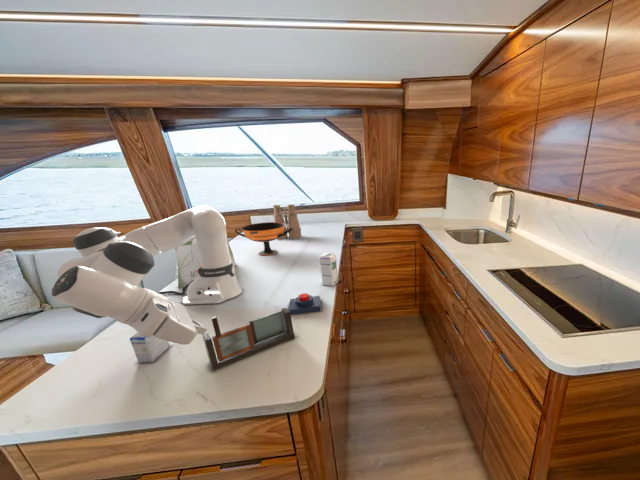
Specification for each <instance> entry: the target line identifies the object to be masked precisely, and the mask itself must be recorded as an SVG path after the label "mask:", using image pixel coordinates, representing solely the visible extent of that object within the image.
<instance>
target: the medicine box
mask: <svg viewBox="0 0 640 480" xmlns="http://www.w3.org/2000/svg"><path fill="white" fill-rule="evenodd" d="M129 341H130V344H131V346H132V349H133V352H134V356H135V357H136V360H137V362H138V363H153V362H155V360H157V359H158V358H159V357H160V356H161V355H162V354H163V353H165V351H166V350H168V349H169V348H170V341H166V340H162V339H159V338H157V337H155V336H154V335H152V336H151V337H145V336H142V335H140V334H139V333H138V331H136V333H134V334H133V335H132V336H130V337H129Z"/></svg>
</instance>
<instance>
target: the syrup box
mask: <svg viewBox="0 0 640 480" xmlns="http://www.w3.org/2000/svg"><path fill="white" fill-rule="evenodd" d="M318 259H319V265H320V274H321V281H322V285H323V286H335V285H336V284H337V283H338V282H339V277H338V276H339V274H338V266H337V257H336V253H334V252H324V253H323V254H322V255H320V256H319V257H318Z"/></svg>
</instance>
